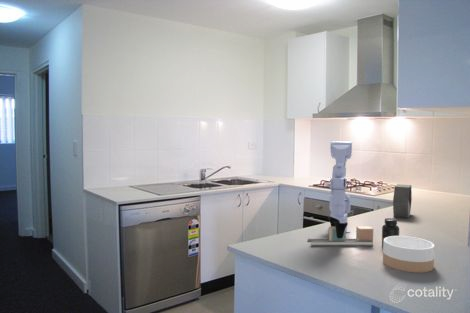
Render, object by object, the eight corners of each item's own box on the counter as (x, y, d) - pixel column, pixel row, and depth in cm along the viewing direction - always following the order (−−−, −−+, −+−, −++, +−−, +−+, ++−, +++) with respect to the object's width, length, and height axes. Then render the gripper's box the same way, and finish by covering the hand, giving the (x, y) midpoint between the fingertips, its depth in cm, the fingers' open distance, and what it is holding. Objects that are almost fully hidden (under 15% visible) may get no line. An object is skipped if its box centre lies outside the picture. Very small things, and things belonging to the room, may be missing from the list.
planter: (407, 212, 206) (410, 178, 214) (391, 210, 210) (395, 177, 218) (409, 223, 219) (412, 191, 227) (395, 222, 223) (398, 190, 231)
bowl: (390, 253, 152) (391, 233, 151) (438, 263, 141) (439, 241, 140) (376, 265, 139) (376, 242, 138) (427, 276, 128) (428, 252, 127)
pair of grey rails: (307, 240, 169) (308, 236, 168) (365, 240, 169) (366, 236, 169) (311, 246, 161) (311, 241, 160) (372, 246, 161) (372, 241, 161)
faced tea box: (356, 242, 167) (356, 226, 167) (369, 242, 167) (370, 226, 167) (359, 244, 163) (359, 228, 162) (373, 244, 163) (373, 228, 163)
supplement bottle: (384, 243, 165) (385, 216, 164) (401, 246, 160) (402, 218, 159) (379, 247, 159) (380, 219, 158) (396, 250, 155) (397, 221, 154)
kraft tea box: (328, 242, 167) (329, 226, 166) (342, 241, 167) (342, 226, 167) (331, 244, 163) (331, 228, 162) (345, 244, 163) (345, 228, 162)
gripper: (352, 208, 157) (351, 240, 158) (342, 201, 171) (341, 231, 172) (335, 208, 157) (334, 240, 157) (326, 201, 171) (326, 231, 172)
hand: (337, 235), depth 165 cm, fingers open, 7 cm apart
